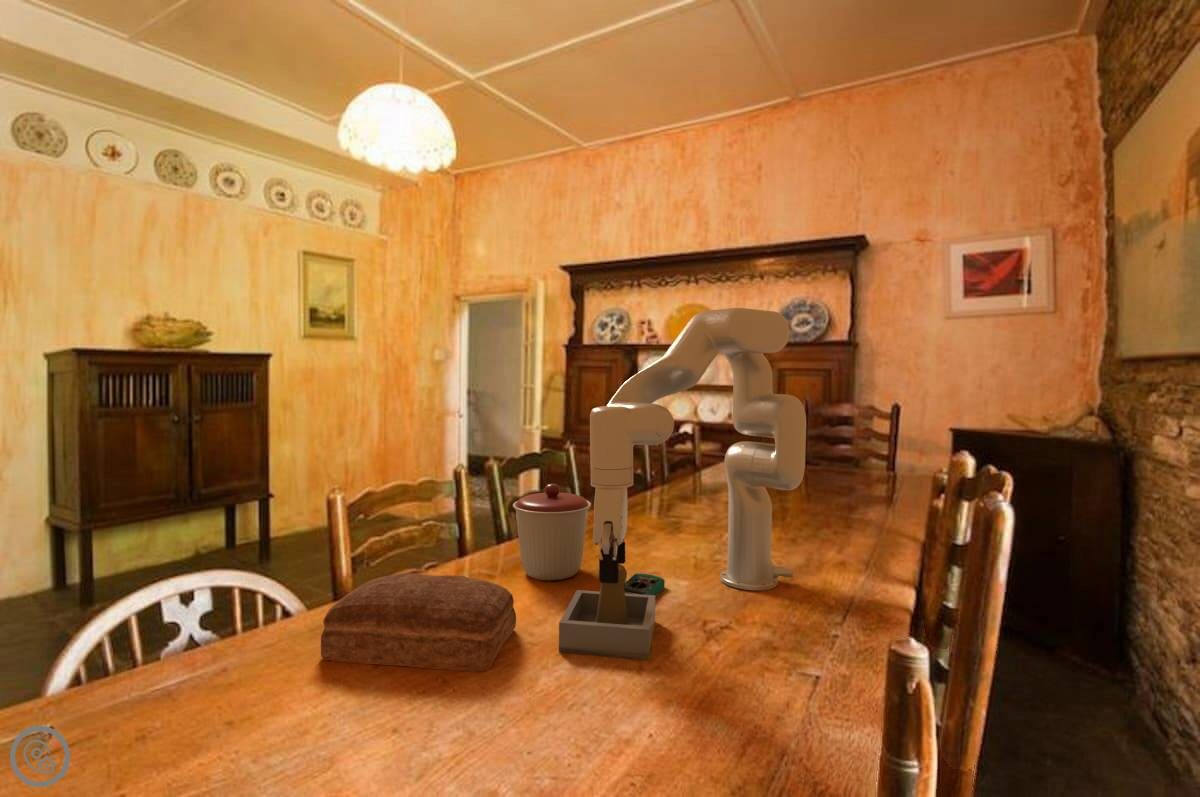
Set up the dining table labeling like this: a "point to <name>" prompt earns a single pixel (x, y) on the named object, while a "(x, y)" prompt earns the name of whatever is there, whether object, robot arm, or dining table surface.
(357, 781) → the dining table surface
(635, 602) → the gray square tray
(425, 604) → the bread
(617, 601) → the tan piece
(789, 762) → the dining table surface
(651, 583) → the digital multimeter
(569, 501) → the canister
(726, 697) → the dining table surface
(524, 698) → the dining table surface
